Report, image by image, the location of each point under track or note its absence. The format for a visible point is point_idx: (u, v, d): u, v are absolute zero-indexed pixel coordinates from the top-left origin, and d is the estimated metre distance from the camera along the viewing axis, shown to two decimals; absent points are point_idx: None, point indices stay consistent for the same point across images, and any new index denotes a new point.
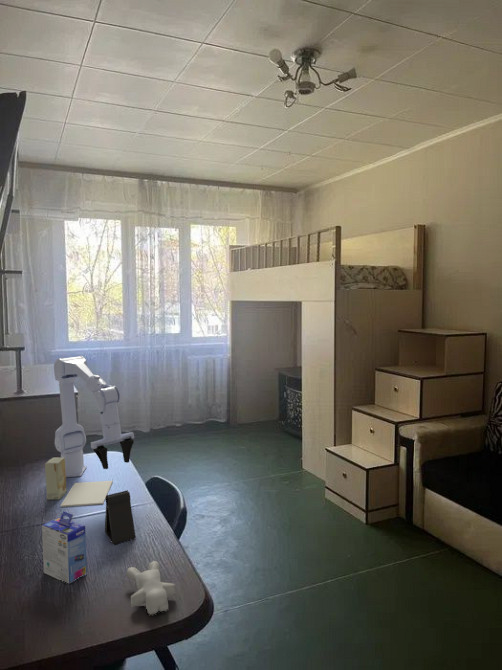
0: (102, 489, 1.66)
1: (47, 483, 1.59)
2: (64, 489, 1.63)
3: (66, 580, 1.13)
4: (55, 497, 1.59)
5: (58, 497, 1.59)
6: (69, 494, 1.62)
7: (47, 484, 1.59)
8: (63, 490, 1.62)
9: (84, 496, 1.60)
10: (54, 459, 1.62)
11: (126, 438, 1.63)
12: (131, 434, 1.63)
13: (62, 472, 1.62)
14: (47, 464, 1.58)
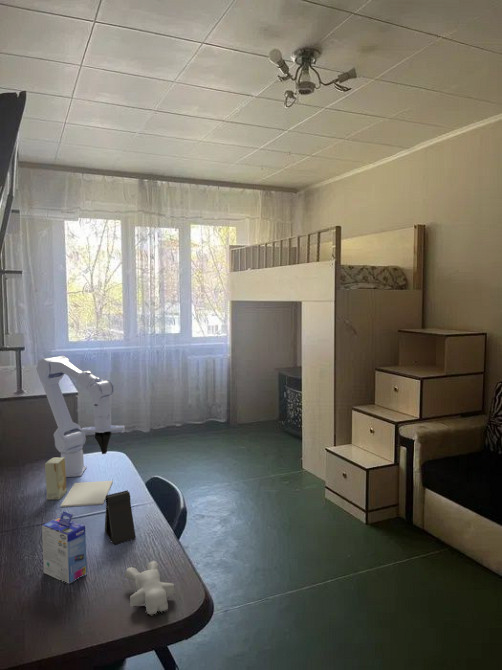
0: (102, 489, 1.66)
1: (47, 483, 1.59)
2: (64, 489, 1.63)
3: (66, 580, 1.13)
4: (55, 497, 1.59)
5: (58, 497, 1.59)
6: (69, 494, 1.62)
7: (47, 484, 1.59)
8: (63, 490, 1.62)
9: (84, 496, 1.60)
10: (54, 459, 1.62)
11: (116, 431, 1.72)
12: (121, 428, 1.72)
13: (62, 472, 1.62)
14: (47, 464, 1.58)
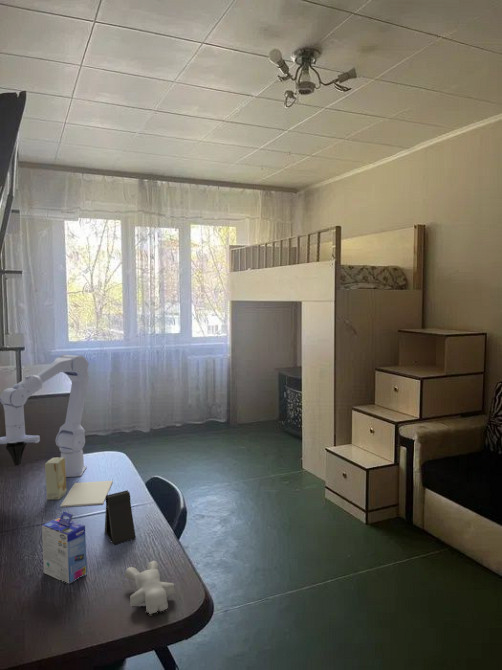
0: (102, 489, 1.66)
1: (47, 483, 1.59)
2: (64, 489, 1.63)
3: (66, 580, 1.13)
4: (55, 497, 1.59)
5: (58, 497, 1.59)
6: (69, 494, 1.62)
7: (47, 484, 1.59)
8: (63, 490, 1.62)
9: (84, 496, 1.60)
10: (54, 459, 1.62)
11: (30, 441, 1.62)
12: (34, 438, 1.62)
13: (62, 472, 1.62)
14: (47, 464, 1.58)
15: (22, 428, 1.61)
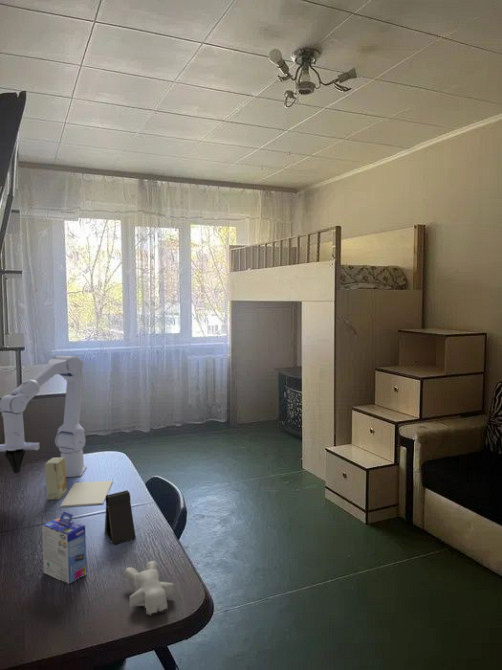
0: (102, 489, 1.66)
1: (47, 483, 1.59)
2: (64, 489, 1.63)
3: (66, 580, 1.13)
4: (55, 497, 1.59)
5: (58, 497, 1.59)
6: (69, 494, 1.62)
7: (47, 484, 1.59)
8: (63, 490, 1.62)
9: (84, 496, 1.60)
10: (54, 459, 1.62)
11: (30, 448, 1.60)
12: (34, 446, 1.59)
13: (62, 472, 1.62)
14: (47, 464, 1.58)
15: (21, 435, 1.58)
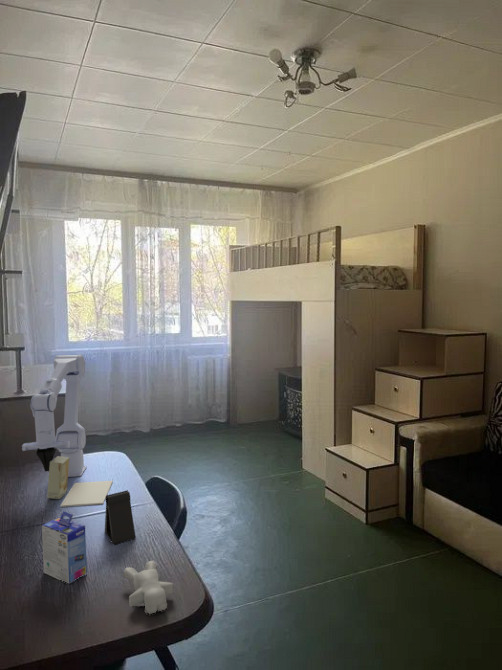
0: (102, 489, 1.66)
1: (49, 482, 1.59)
2: (65, 489, 1.63)
3: (66, 580, 1.13)
4: (55, 496, 1.59)
5: (58, 497, 1.59)
6: (69, 494, 1.62)
7: (49, 483, 1.59)
8: (63, 490, 1.62)
9: (84, 496, 1.60)
10: (59, 458, 1.62)
11: (60, 446, 1.61)
12: (65, 444, 1.60)
13: (65, 472, 1.62)
14: (52, 463, 1.58)
15: (52, 434, 1.59)
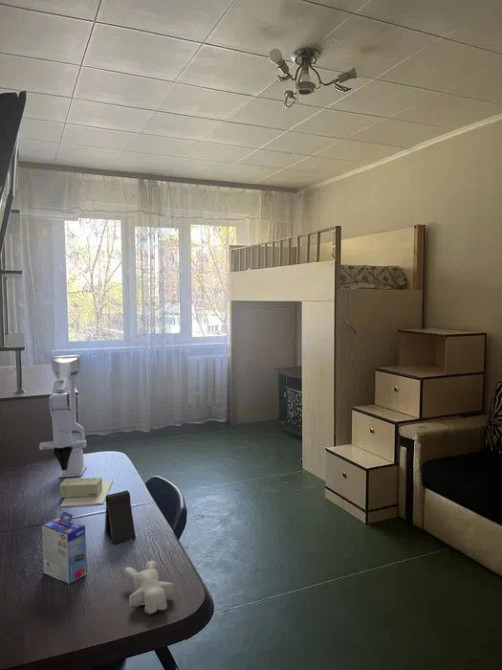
0: (102, 489, 1.66)
1: (76, 486, 1.59)
2: None
3: (66, 580, 1.13)
4: (61, 494, 1.59)
5: (61, 496, 1.59)
6: None
7: (75, 486, 1.59)
8: None
9: None
10: (100, 485, 1.63)
11: (77, 446, 1.61)
12: (82, 443, 1.61)
13: None
14: (95, 486, 1.59)
15: (69, 433, 1.60)
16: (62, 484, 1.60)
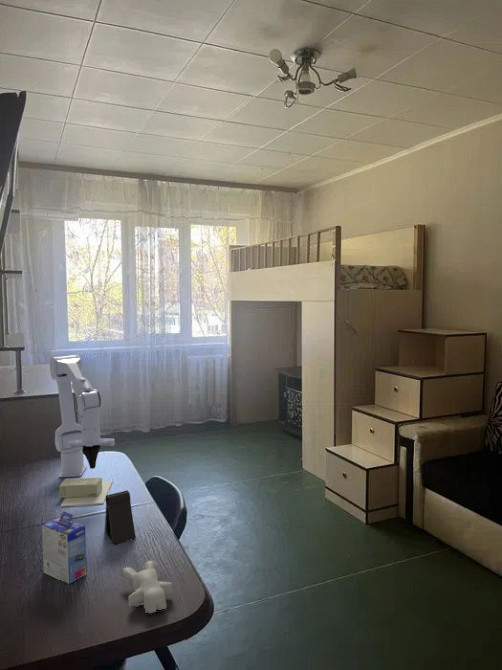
0: (102, 489, 1.66)
1: (75, 486, 1.59)
2: None
3: (66, 580, 1.13)
4: (61, 494, 1.59)
5: (61, 497, 1.59)
6: None
7: (74, 486, 1.59)
8: None
9: None
10: (100, 485, 1.63)
11: (105, 444, 1.62)
12: (110, 441, 1.62)
13: None
14: (95, 487, 1.59)
15: (98, 431, 1.61)
16: (62, 484, 1.59)
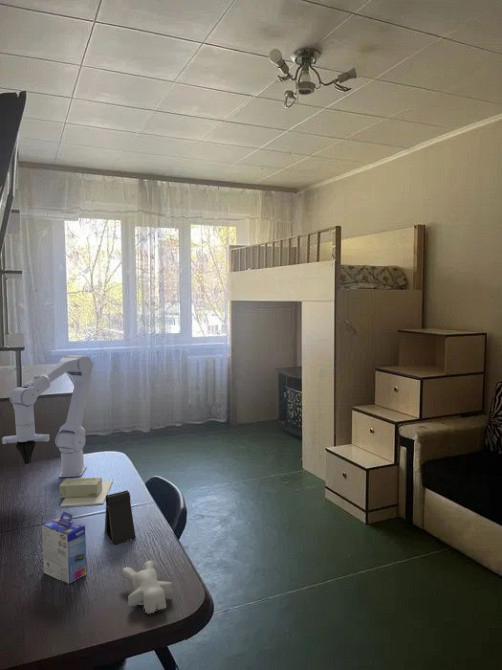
0: (102, 489, 1.66)
1: (75, 486, 1.59)
2: None
3: (66, 580, 1.13)
4: (61, 494, 1.59)
5: (61, 497, 1.59)
6: None
7: (74, 486, 1.59)
8: None
9: None
10: (100, 485, 1.63)
11: (40, 440, 1.64)
12: (44, 437, 1.63)
13: None
14: (95, 487, 1.59)
15: (32, 427, 1.62)
16: (62, 484, 1.59)
